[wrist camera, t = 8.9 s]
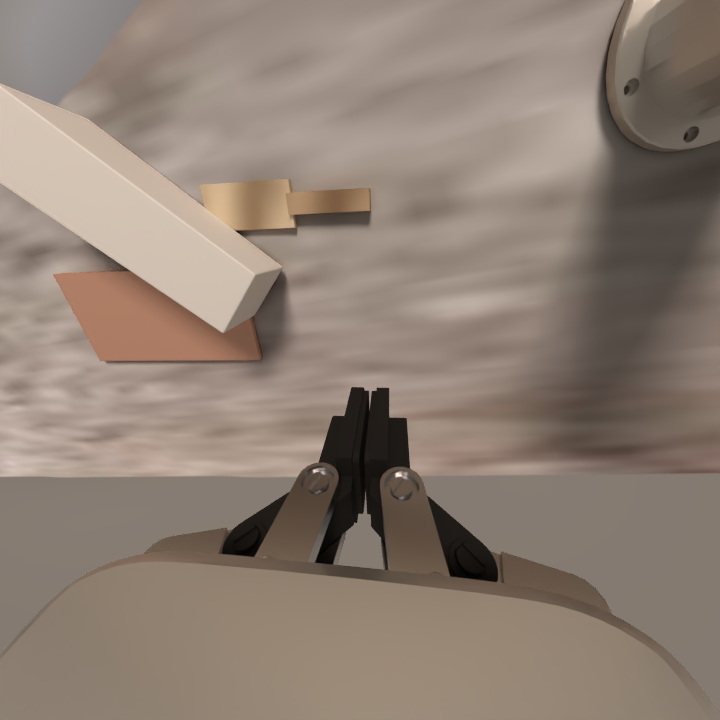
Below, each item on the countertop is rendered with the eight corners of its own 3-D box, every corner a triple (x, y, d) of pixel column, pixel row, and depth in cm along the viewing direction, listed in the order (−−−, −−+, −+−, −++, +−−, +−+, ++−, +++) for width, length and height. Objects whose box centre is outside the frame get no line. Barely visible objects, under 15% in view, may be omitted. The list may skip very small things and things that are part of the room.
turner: (215, 231, 25) (209, 231, 24) (203, 186, 24) (196, 184, 23) (371, 224, 24) (370, 224, 23) (370, 174, 22) (369, 172, 21)
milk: (284, 267, 25) (51, 87, 21) (256, 275, 20) (-66, 34, 16) (254, 316, 28) (38, 162, 24) (221, 335, 22) (-68, 138, 18)
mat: (59, 273, 28) (53, 274, 28) (240, 266, 26) (237, 267, 26) (104, 358, 33) (100, 360, 32) (262, 357, 31) (259, 360, 30)
